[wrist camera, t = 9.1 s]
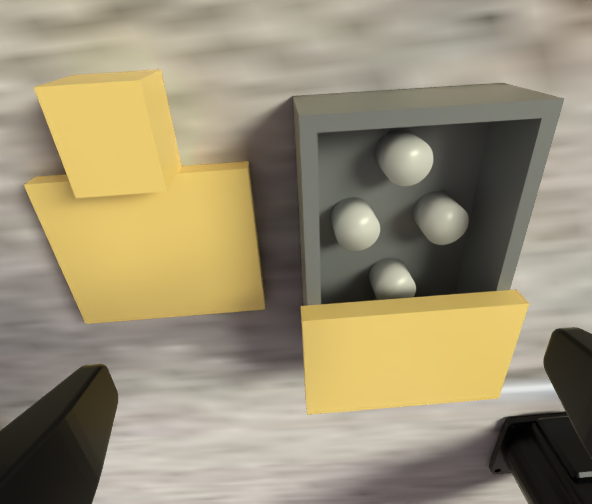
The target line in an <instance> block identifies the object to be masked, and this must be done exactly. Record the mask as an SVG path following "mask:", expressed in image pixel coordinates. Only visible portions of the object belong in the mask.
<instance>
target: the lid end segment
mask: <svg viewBox="0 0 592 504" xmlns="http://www.w3.org/2000/svg"><path fill="white" fill-rule="evenodd" d="M34 89H35V92H36V95H37V97H38V100H39V102H40V105H41V108H42V110H43V113H44V116H45V118H46V121H47V124H48V126H49V129H50V131H51V134H52V137H53V139H54V142H55V145H56V147H57V150H58V153H59V155H60V158H61V161H62V163H63V166H64V168H65V171H66V175H52V176H38V177H34V178H33V179H31V180H30V181H28V182H27V183H25V184H24V187H25V189H26V191H27V194H28V196H29V198H30V200H31V202H32V205H33V207H34V209H35V211H36V214H37V216H38V218H39V220H40V223H41V225H42V227H43V229H44V232H45V234H46V236H47V238H48V241H49V243H50V245H51V247H52V250H53V252H54V254H55V256H56V259H57V261H58V263H59V265H60V268H61V270H62V272H63V274H64V276H65V279H66V281H67V283H68V285H69V288H70V290H71V292H72V294H73V297H74V299H75V301H76V303H77V306H78V308H79V310H80V312H81V315H82V317H83V319H84V321H85V324H92V323H104V322H117V321H129V320H141V319H154V318H166V317H178V316H191V315H203V314H216V313H228V312H240V311H253V310H265V293H264V285H263V276H262V268H261V260H260V251H259V243H258V235H257V226H256V218H255V209H254V201H253V193H252V184H251V176H250V168H249V161H246V162H232V163H219V164H205V165H191V166H181V161H180V157H179V152H178V147H177V142H176V138H175V133H174V128H173V124H172V119H171V114H170V110H169V105H168V100H167V96H166V91H165V86H164V82H163V77H162V72H161V69H159V70H144V71H129V72H114V73H99V74H84V75H72V76H68V77H65V78H62V79H59V80H55V81H52V82H49V83H46V84H42V85H39V86H36V87H34Z"/></svg>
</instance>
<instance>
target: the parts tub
mask: <svg viewBox="0 0 592 504" xmlns="http://www.w3.org/2000/svg"><path fill="white" fill-rule="evenodd" d="M563 101H564V98H560V97H556V96H552V95H548V94H544V93H540V92H536V91H532V90H529V89H525V88H521V87H517V86H513V85H509V84H505V83H494V84H478V85H462V86H446V87H430V88H414V89H398V90H382V91H366V92H350V93H334V94H318V95H302V96H293V112H294V131H295V151H296V171H297V191H298V211H299V231H300V250H301V270H302V290H303V306H301V324H302V342H303V360H304V379H305V397H306V407H307V415H309V414H321V413H333V412H344V411H356V410H368V409H380V408H392V407H404V406H416V405H427V404H439V403H451V402H463V401H475V400H487V399H499V396H500V392H501V389H502V386H503V383H504V380H505V377H506V374H507V371H508V368H509V365H510V362H511V358H512V355H513V352H514V349H515V346H516V343H517V340H518V337H519V334H520V331H521V328H522V325H523V321H524V318H525V315H526V312H527V309H528V306H529V303H528V302H527V300H526V299H525V298H524V297H523V296H522V295H521V294H520V293H519V292H518V291H517V290H510V287H511V284H512V280H513V277H514V273H515V270H516V266H517V263H518V259H519V256H520V252H521V249H522V245H523V242H524V238H525V235H526V231H527V228H528V224H529V221H530V217H531V214H532V210H533V207H534V203H535V200H536V196H537V193H538V189H539V186H540V182H541V179H542V175H543V171H544V168H545V164H546V161H547V157H548V154H549V150H550V147H551V143H552V140H553V136H554V133H555V129H556V126H557V122H558V119H559V115H560V112H561V108H562V105H563Z"/></svg>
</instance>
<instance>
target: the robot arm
mask: <svg viewBox="0 0 592 504" xmlns="http://www.w3.org/2000/svg"><path fill="white" fill-rule="evenodd" d="M543 363H544V368H545V371H546V373H547V375H548V377H549V379H550V381H551V383H552V385H553V387H554V389H555V391H556V393H557V395H558V397H559V399H560V401H561V403H562V405H563V407H564V409H565V411H566V413H562V414H551V415H539V416H527V417H516V418H510V419H507V420H506V421H505V423H504V425H503V428H502V431H501V434H500V437H499V440H498V442H497V445H496V448H495V451H494V454H493V457H492V459H491V462H490V465H489V468H490V470H491V473H492V474H504V473H512V475H513V476H514V478H515V480H516V482H517V484H518V486H519V488H520V489H521V491H522V493H523V495H524V497H525V499H526V501H527V502H528V504H592V334H591V333H589V332H587V331H584V330H582V329H580V328H575V327H572V328H559V329H556V330H555V331H554V332H553V333H552V335H551V338H550V341H549V344H548V347H547V350H546V352H545V355H544V362H543ZM117 405H118V392H117V389H116V387H115V385H114V382H113V380H112V377H111V375H110V373H109V370H108V368H107V367H106V366H105V365H103V364H95V365H85V366H82V367H80V368H79V369H78V370H76V371H75V372H74V373H73V374H71V375H70V376H69V377H67V378H66V379H65V380H64V381H62V382H61V383H60V384H59V385H57V386H56V387H55V388H54V389H52V390H51V391H50V392H49V393H47V394H46V395H45V396H44V397H42V398H41V399H40V400H38V401H37V402H36V403H35V404H33V405H32V406H31V407H30V408H28V409H27V410H26V411H25V412H23V413H22V414H21V415H20V416H18V417H17V418H16V419H15V420H13V421H12V422H11V423H10V424H8V425H7V426H6V427H4V428H3V429H2V430H1V431H0V504H92V501H93V498H94V496H95V492H96V489H97V486H98V483H99V480H100V476H101V472H102V468H103V464H104V460H105V456H106V452H107V447H108V443H109V439H110V435H111V430H112V426H113V422H114V418H115V413H116V409H117Z"/></svg>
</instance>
